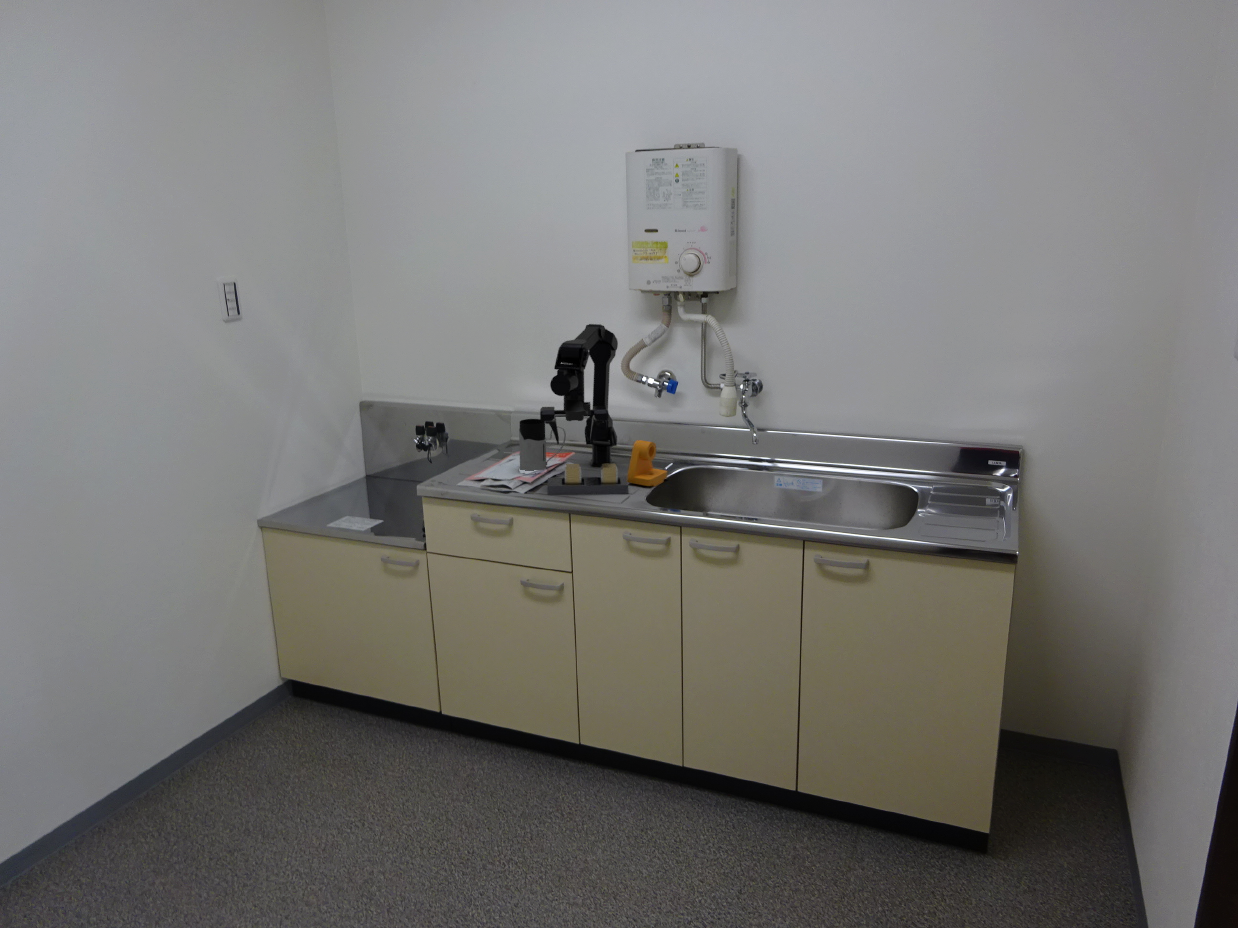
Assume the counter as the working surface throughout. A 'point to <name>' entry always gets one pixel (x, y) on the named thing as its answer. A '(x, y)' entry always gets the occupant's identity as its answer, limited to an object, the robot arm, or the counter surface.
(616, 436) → the robot arm
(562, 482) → the tray
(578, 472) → the gold metal block
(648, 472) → the bracket
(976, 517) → the counter surface
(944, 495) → the counter surface
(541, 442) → the glass holder
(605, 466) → the tan-capped ribbed block
